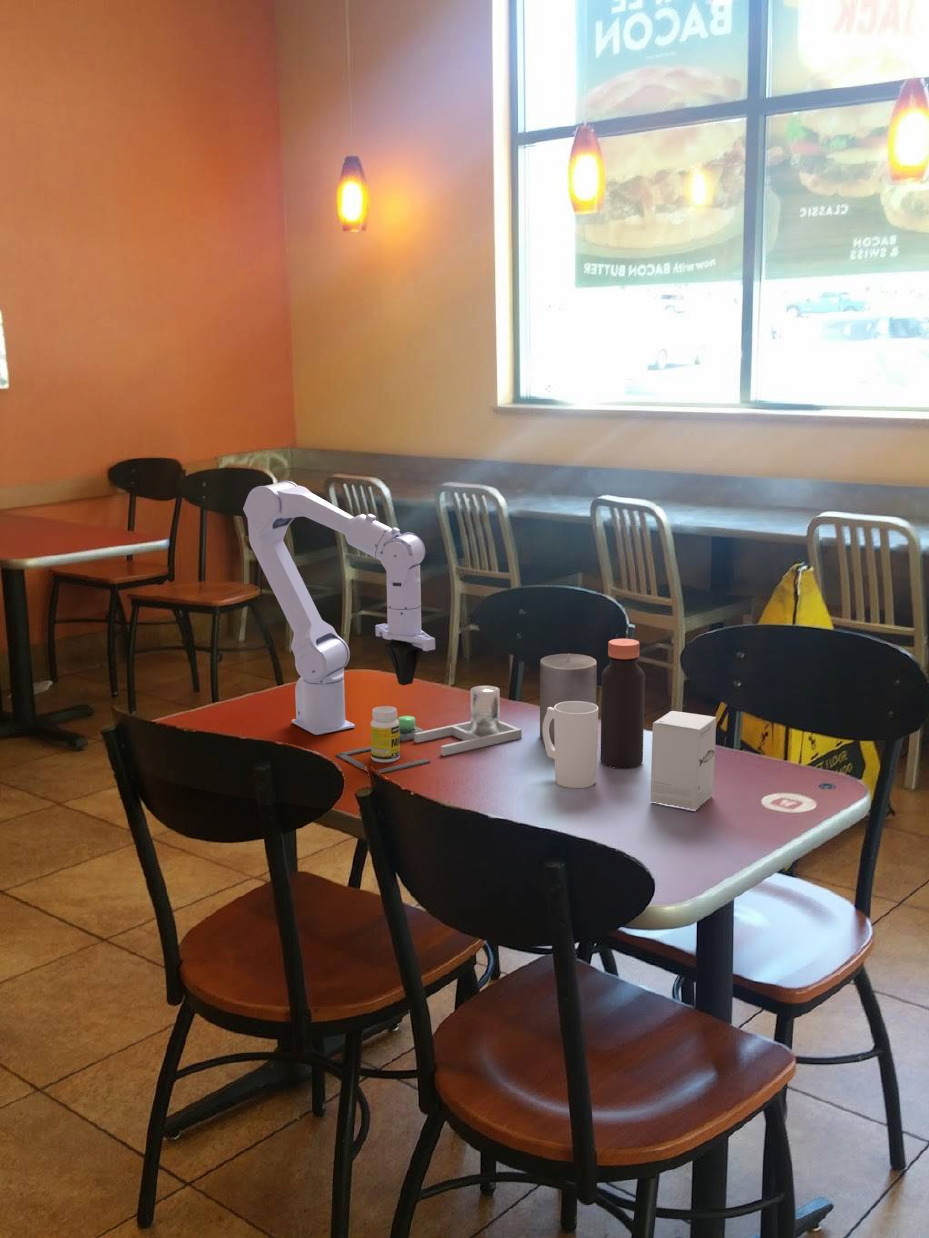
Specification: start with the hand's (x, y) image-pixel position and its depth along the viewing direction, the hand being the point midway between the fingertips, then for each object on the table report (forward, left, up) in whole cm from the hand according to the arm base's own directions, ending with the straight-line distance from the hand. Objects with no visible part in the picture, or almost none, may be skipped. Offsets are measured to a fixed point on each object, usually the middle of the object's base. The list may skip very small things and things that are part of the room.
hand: (405, 683), depth 212 cm
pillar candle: (+17, +22, -10) cm, 29 cm away
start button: (0, 0, -9) cm, 9 cm away
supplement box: (+50, +17, -10) cm, 54 cm away
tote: (+8, -9, -9) cm, 15 cm away
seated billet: (+8, +11, -9) cm, 17 cm away
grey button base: (0, 0, -9) cm, 9 cm away
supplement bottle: (+8, -9, -10) cm, 15 cm away
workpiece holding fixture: (+8, +7, -9) cm, 14 cm away
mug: (+33, +9, -10) cm, 36 cm away
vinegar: (+32, +21, -10) cm, 39 cm away
